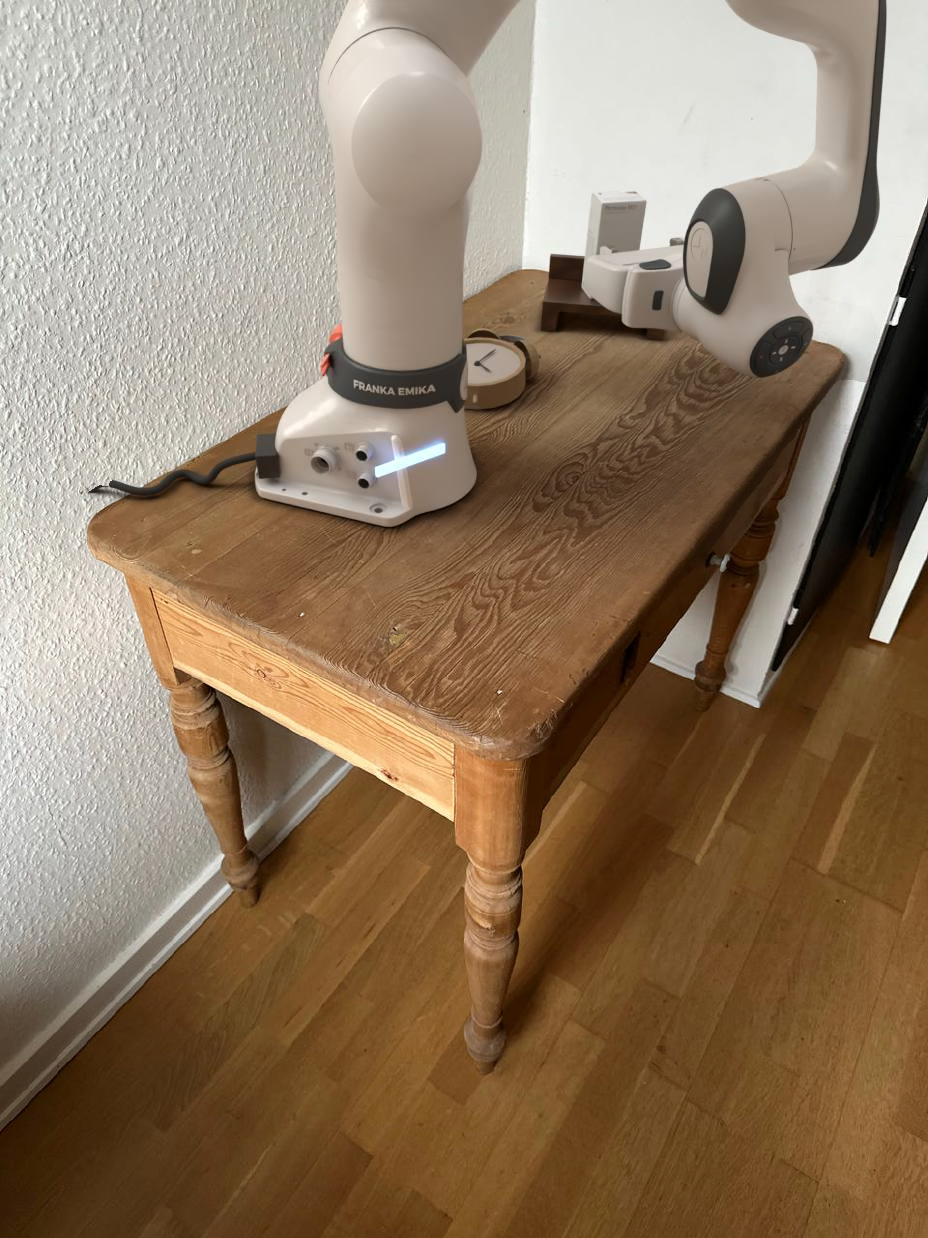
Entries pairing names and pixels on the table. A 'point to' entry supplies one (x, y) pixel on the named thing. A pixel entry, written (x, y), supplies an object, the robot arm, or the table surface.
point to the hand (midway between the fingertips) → (639, 247)
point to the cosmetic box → (614, 223)
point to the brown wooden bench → (572, 294)
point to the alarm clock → (497, 368)
